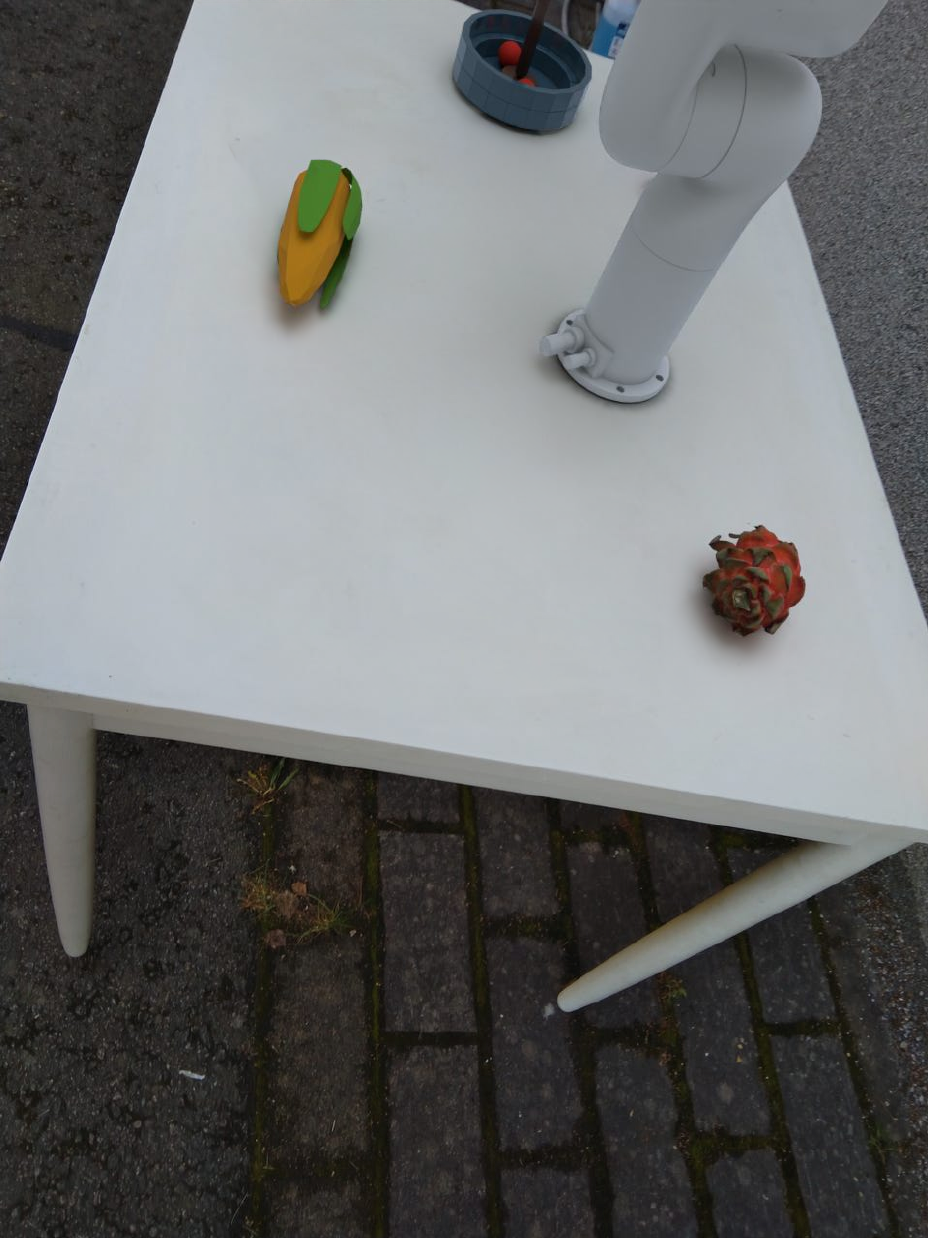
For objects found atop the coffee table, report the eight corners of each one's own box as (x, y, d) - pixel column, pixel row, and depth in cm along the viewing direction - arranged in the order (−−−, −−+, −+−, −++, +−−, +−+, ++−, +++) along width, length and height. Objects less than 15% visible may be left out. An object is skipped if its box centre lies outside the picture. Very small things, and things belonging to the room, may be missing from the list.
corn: (374, 146, 89) (340, 276, 79) (366, 213, 96) (334, 342, 85) (300, 127, 88) (255, 256, 78) (297, 196, 95) (255, 325, 84)
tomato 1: (495, 65, 115) (500, 38, 113) (496, 65, 117) (500, 38, 116) (518, 70, 115) (523, 43, 113) (518, 70, 117) (523, 43, 116)
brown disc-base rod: (514, 100, 113) (558, -38, 100) (491, 76, 114) (532, -63, 101) (541, 94, 115) (588, -40, 102) (519, 72, 117) (563, -65, 103)
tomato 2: (521, 115, 113) (506, 95, 111) (522, 105, 114) (508, 85, 113) (540, 99, 111) (525, 79, 109) (541, 89, 113) (526, 68, 111)
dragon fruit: (704, 660, 81) (718, 572, 89) (805, 661, 77) (810, 570, 85) (693, 589, 76) (708, 503, 84) (801, 587, 72) (806, 497, 80)
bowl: (494, 141, 109) (508, 97, 104) (427, 56, 114) (437, 10, 110) (599, 129, 117) (617, 88, 112) (532, 50, 122) (546, 7, 117)
